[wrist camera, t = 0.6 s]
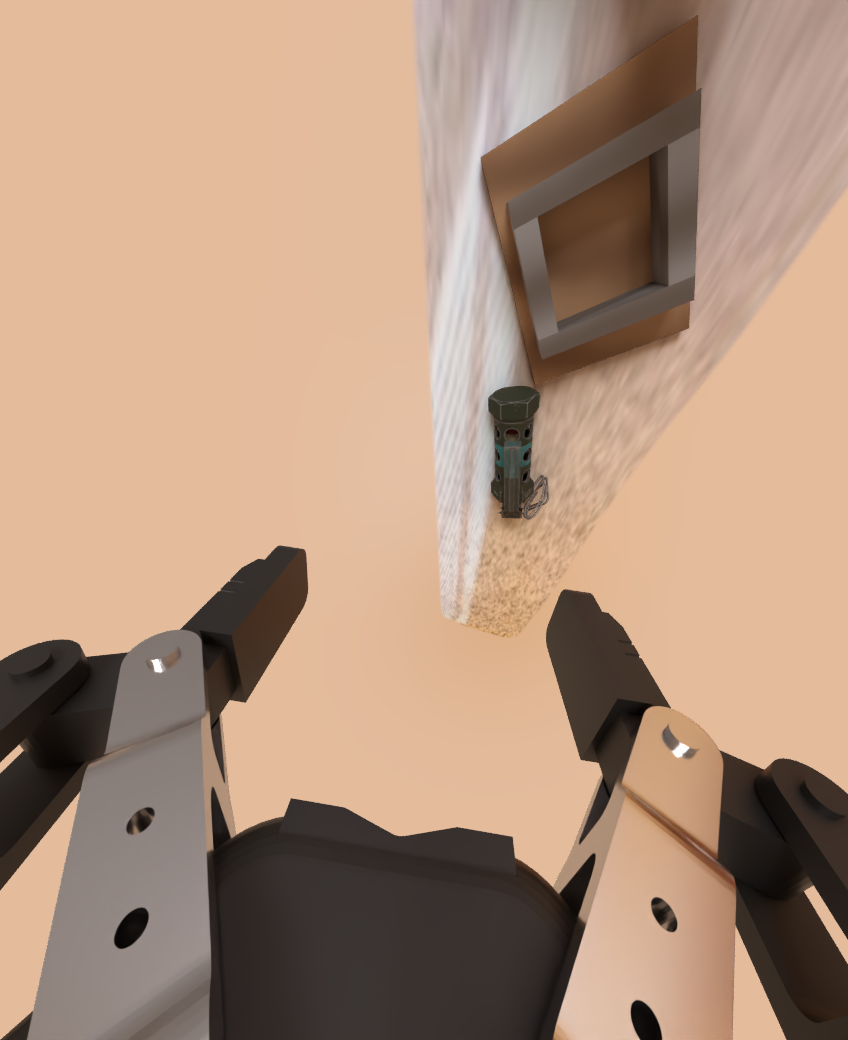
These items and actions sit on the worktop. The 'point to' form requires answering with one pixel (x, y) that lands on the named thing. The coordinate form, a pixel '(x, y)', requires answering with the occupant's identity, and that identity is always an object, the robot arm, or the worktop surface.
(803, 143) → the worktop surface
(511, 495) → the stun grenade
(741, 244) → the worktop surface
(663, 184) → the socket board
